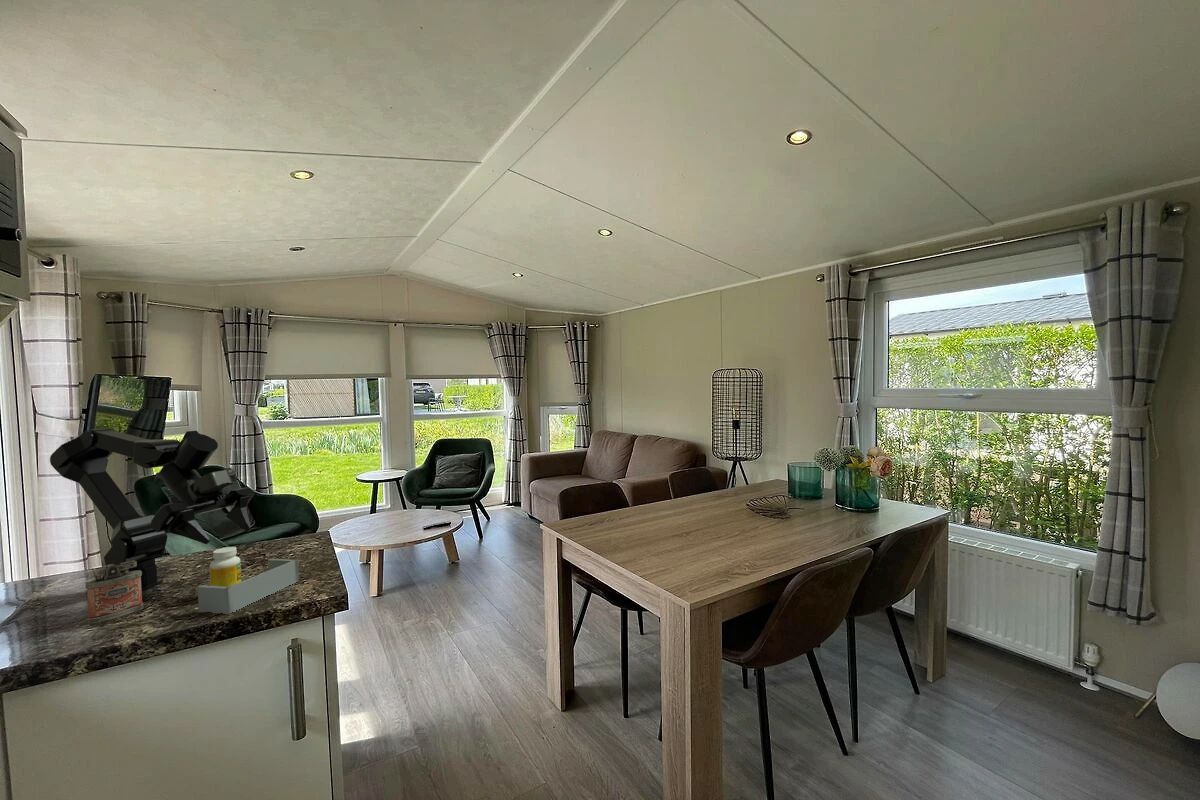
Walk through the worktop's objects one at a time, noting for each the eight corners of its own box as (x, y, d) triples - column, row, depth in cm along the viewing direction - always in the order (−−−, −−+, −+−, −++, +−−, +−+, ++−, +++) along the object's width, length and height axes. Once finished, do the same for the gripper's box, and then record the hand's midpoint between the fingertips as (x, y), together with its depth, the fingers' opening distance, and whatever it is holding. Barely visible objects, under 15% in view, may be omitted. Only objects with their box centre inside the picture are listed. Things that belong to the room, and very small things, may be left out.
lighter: (90, 624, 93) (87, 572, 93) (85, 621, 95) (82, 569, 95) (146, 608, 100) (143, 559, 100) (140, 605, 102) (137, 557, 102)
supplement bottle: (210, 593, 107) (208, 549, 107) (240, 587, 110) (239, 544, 110) (211, 601, 103) (209, 555, 102) (242, 594, 106) (241, 549, 106)
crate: (198, 611, 97) (197, 586, 97) (272, 580, 114) (271, 558, 114) (229, 614, 96) (227, 588, 96) (298, 581, 112) (297, 559, 112)
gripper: (158, 464, 98) (205, 521, 95) (245, 452, 116) (287, 500, 113) (130, 504, 99) (176, 560, 97) (220, 486, 118) (260, 533, 115)
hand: (229, 535), depth 106 cm, fingers open, 9 cm apart
